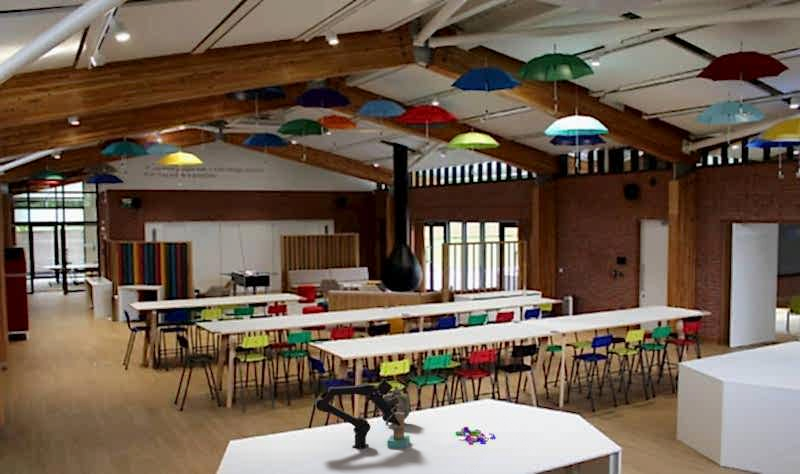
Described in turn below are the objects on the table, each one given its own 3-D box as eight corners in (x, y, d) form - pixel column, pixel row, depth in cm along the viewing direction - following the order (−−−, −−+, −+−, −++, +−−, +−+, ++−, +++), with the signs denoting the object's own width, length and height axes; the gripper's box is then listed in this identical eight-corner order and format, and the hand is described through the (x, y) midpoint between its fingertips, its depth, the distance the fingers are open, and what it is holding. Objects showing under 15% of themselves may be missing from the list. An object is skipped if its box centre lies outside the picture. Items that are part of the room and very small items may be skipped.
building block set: (498, 444, 357) (498, 435, 357) (460, 445, 356) (460, 437, 356) (489, 430, 382) (489, 422, 382) (453, 431, 381) (453, 423, 381)
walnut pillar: (402, 439, 355) (403, 414, 355) (393, 439, 355) (394, 414, 355) (403, 436, 360) (404, 412, 360) (394, 436, 360) (395, 411, 360)
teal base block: (406, 449, 352) (406, 441, 352) (387, 448, 354) (387, 440, 353) (409, 443, 361) (409, 435, 361) (391, 442, 363) (391, 435, 363)
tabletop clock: (382, 425, 394) (382, 382, 393) (387, 421, 402) (386, 379, 402) (406, 427, 389) (406, 383, 389) (411, 422, 398) (410, 380, 398)
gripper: (388, 395, 348) (410, 417, 347) (392, 386, 367) (412, 407, 366) (373, 410, 349) (395, 432, 348) (377, 401, 368) (398, 421, 367)
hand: (400, 422), depth 357 cm, fingers open, 9 cm apart
